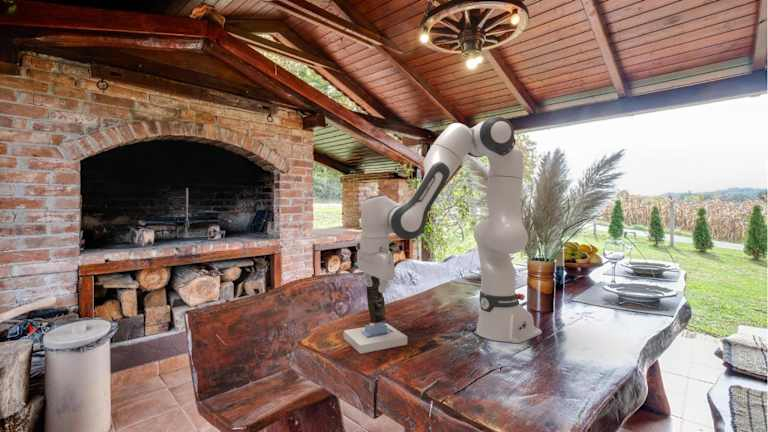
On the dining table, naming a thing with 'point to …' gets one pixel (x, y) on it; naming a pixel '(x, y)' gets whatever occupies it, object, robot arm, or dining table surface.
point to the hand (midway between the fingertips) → (375, 289)
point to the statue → (376, 302)
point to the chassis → (374, 340)
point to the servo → (375, 330)
